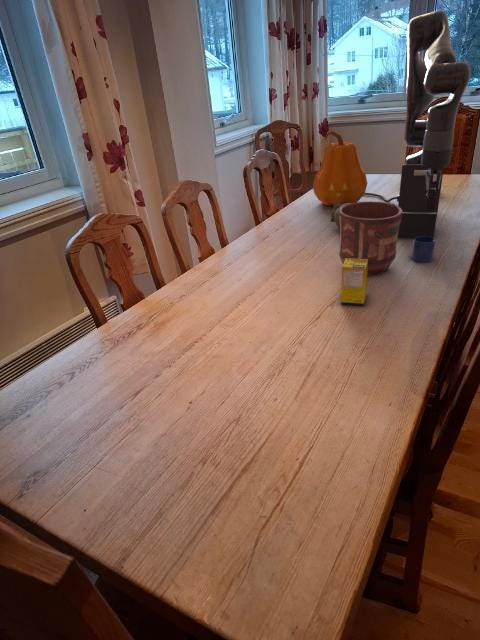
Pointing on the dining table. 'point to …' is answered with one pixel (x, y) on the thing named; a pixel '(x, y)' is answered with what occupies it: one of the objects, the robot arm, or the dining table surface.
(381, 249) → the pottery
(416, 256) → the creamer cup
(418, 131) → the robot arm
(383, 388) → the dining table surface
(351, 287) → the supplement box
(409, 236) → the black cube
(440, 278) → the dining table surface
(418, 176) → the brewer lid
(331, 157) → the decorative pumpkin
